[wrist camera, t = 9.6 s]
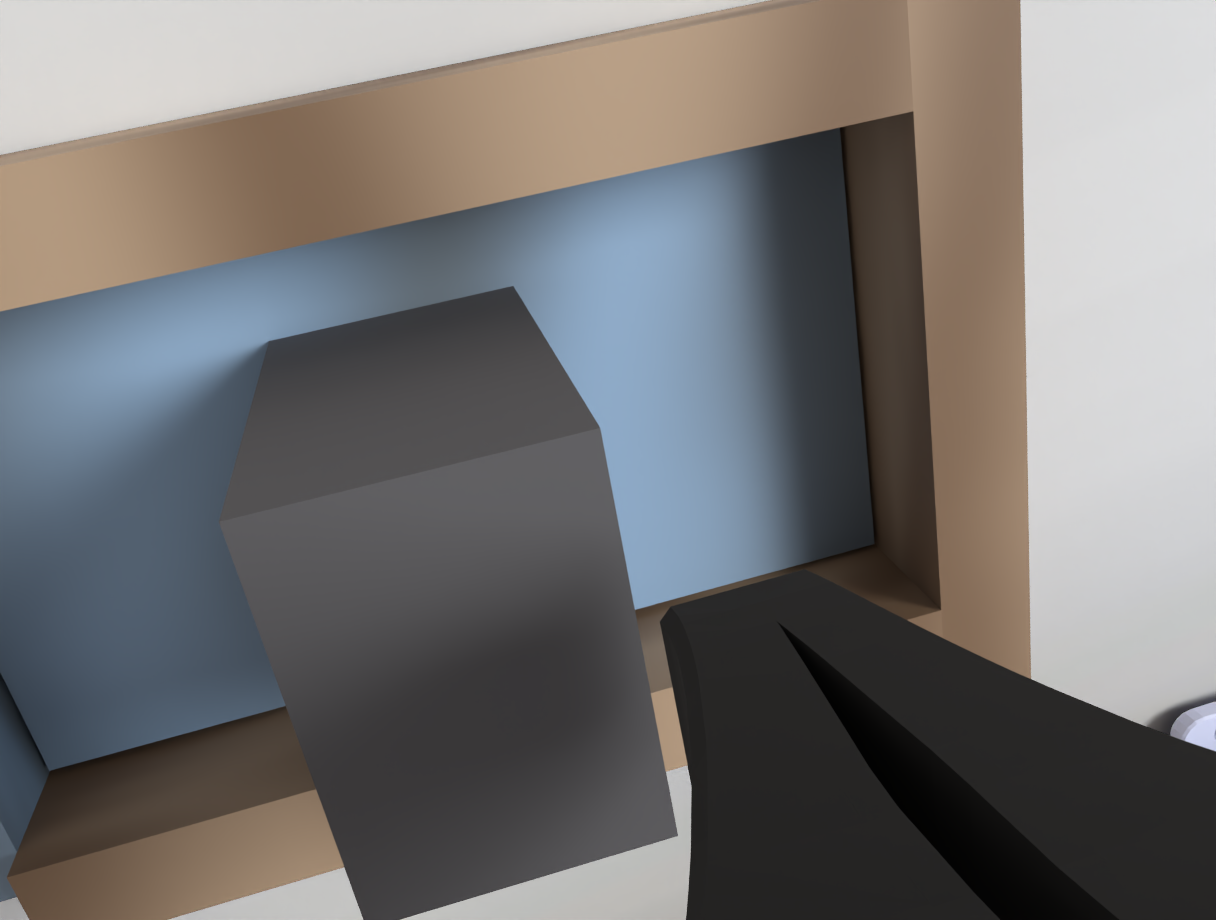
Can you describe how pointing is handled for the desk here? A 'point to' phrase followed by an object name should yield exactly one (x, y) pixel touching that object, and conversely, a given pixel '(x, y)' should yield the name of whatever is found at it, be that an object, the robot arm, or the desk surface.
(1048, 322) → the desk surface
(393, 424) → the tall grey box
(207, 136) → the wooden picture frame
